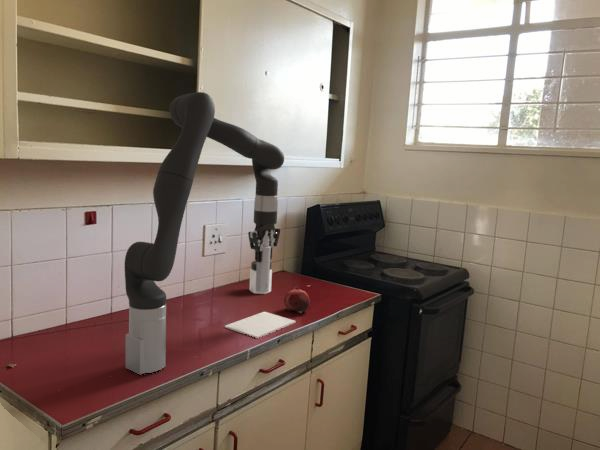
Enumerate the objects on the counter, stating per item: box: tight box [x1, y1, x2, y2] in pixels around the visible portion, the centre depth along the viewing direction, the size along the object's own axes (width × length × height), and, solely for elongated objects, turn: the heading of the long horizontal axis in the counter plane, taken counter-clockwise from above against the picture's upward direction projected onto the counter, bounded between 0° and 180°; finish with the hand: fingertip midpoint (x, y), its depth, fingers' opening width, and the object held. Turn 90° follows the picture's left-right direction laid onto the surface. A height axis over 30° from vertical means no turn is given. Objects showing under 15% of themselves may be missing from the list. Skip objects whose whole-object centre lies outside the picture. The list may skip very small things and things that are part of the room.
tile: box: [224, 311, 297, 339], centre depth 168 cm, size 20×14×1 cm
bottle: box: [256, 232, 271, 294], centre depth 165 cm, size 4×4×20 cm
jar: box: [249, 260, 273, 295], centre depth 206 cm, size 9×8×12 cm
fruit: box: [283, 284, 311, 314], centre depth 183 cm, size 9×10×10 cm
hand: (263, 260), depth 165 cm, fingers closed on bottle, 4 cm apart
